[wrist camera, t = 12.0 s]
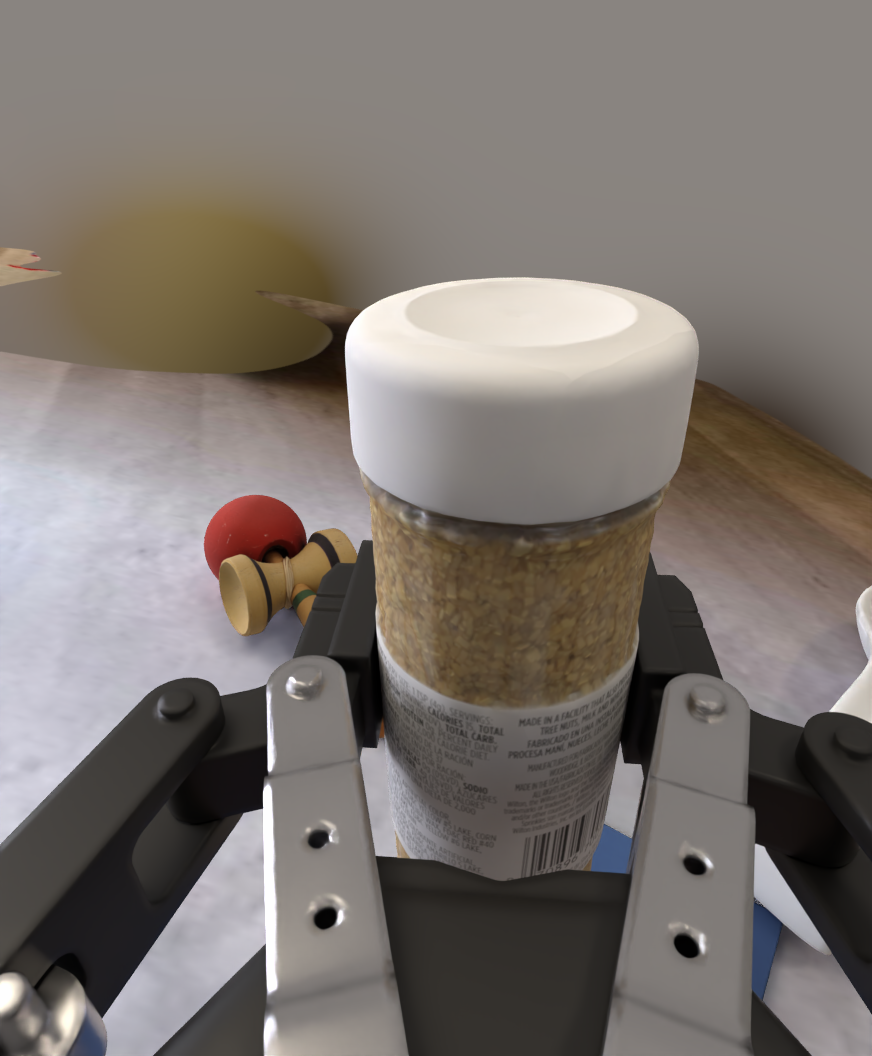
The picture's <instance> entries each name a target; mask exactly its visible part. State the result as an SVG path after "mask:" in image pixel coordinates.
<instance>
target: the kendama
mask: <svg viewBox="0 0 872 1056" xmlns="http://www.w3.org/2000/svg"><path fill="white" fill-rule="evenodd" d="M204 539H205V540H204V551H205V557H206V560H207V563H208V565H209V567H210V569H211V571H212V572H213V574H214V575H215V576H216V578H217V579H218V580H219V585H220V592H221V597H222V600H223V605H224V607H225V610H226V613H227V616H228V618H229V620H230V622H231V624H232V625H233V627H234V628H235V630H236V631H237V632H238V633H240V634H241V635H242V636H249V635H253V634H258V633H261V632H262V631H263V630H264V629H265V627H266V626H267V624H268V622H269V621H270V620H271V618H272V617H273V616H274V615H275V614H276V613H277V612H278V611H279V610H280V609H282V608H284V607H285V608H286V609H289V608H291V607H292V606H293V607H294V609H295V611H296V613H297V615H298V617H299V619H300V621H301V623H302V625H303V627H304V626H305V623H306V621H307V618H308V615H309V612H310V611H311V607H312V604H313V601H314V599H315V597H316V593H317V590H318V588H319V585H320V582H321V579H322V577H323V576H324V575H325V574H326V573H327V572H328V571H329V570H330V569H331V568H332V567H333V566H334V565H335V564H337V563H356V560H357V553H356V551H355V549H354V547H353V545H352V543H351V541H350V540H349V539H348V537H347V536H346V535H345V534H344V533H343V532H342V531H340V530H338V529H335V528H333V529H327V530H322V531H317V532H315V533H313V534H312V535H311V537H310V539H309V541H308V543H307V539H306V533H305V530H304V527H303V524H302V522H301V520H300V519H299V517H298V516H297V514H296V513H295V512H294V511H293V510H292V509H291V508H290V507H289V506H287V505H286V504H285V503H283V502H281V501H279V500H277V499H275V498H272V497H268V496H263V495H249V496H244V497H240V498H237V499H235V500H233V501H231V502H229V503H227V504H225V505H224V506H223V507H222V508H221V509H220V510H219V511H218V512H217V513H216V514H215V515H214V517H213V518H212V519H211V521H210V523H209V525H208V527H207V530H206V534H205V537H204ZM384 737H385V736H384V723H383V719H382V724H381V729H380V735H379V738H384Z"/></svg>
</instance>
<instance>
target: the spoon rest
mask: <svg viewBox="0 0 872 1056" xmlns="http://www.w3.org/2000/svg"><path fill="white" fill-rule="evenodd" d="M856 618H857V626H858V630H859V635H860V639H861V642H862V645H863V648H864V651H865V653H866V656H867V658H868V660H869V662H868V664H867V666H866V668H865V669H864V671H863V672H862V673H861V675H860V676H859V677H858V678H857V679H856V680H855V681H854V683H853V684H852V685H851V686H850V687H849V689H848V690H847V691H846V692H845V693H844V694H843V696H842V697H841V698H840V699H839V700H838V702H837V703H836V704H835V705H834V706H833V708H832V709H831V710H830V711H829V712H840V713H846V714H850V715H854V716H856V717H859V718H862V719H864V720H866V721H868V722H870V723H872V586H871V587H869V588H868V589H866V590H865V591H864V592H863V593H862V594H861V596H860V597H859V599H858V602H857V605H856ZM754 897H755V898H756V899H757V900H758V901H759V902H760V903H761V904H762V905H763V906H765V907H766V908H767V909H768V910H769V911H770V912H771V913H772V914H773V915H774V916H776V917H777V918H778V919H779V920H780V921H781V922H782V923H783V924H784V925H786V926H787V927H788V928H789V929H790V930H791V931H793V932H794V933H795V934H796V935H797V936H798V937H800V938H801V939H802V940H803V941H805V942H806V943H807V944H809V945H810V946H811V947H813V948H814V949H816V950H817V951H819V952H821V953H822V954H825V955H831V954H832V952H831V951H830V949H829V948H828V946H827V945H826V943H825V942H824V940H823V938H822V937H821V935H820V934H819V932H818V931H817V929H816V928H815V926H814V925H813V923H812V922H811V920H810V918H809V917H808V915H807V914H806V912H805V911H804V909H803V908H802V906H801V905H800V903H799V902H798V900H797V898H796V897H795V895H794V894H793V892H792V891H791V889H790V888H789V886H788V885H787V883H786V882H785V880H784V878H783V877H782V875H781V874H780V872H779V871H778V869H777V868H776V866H775V865H774V863H773V862H772V860H771V858H770V857H769V855H768V853H767V852H766V849H765V847H764V846H761V845H758V844H755V864H754Z"/></svg>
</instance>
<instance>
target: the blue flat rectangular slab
mask: <svg viewBox="0 0 872 1056" xmlns="http://www.w3.org/2000/svg"><path fill="white" fill-rule="evenodd" d="M631 842H632V839H631V838H629V837H627V836H625V835H624V834H622V833H620V832H618V831H616V830H614V829H612V828H611V827H609V826H607V825H605V824H604V825H603V830H602V834H601V838H600V841H599V843H598V846H597V848H596V850H595V852H594V854H593V857H592V866H591V871H597V872H612V873H626V869H627V864H628V859H629V853H630V848H631ZM782 925H783V923H782V922H781V921H780V920H779V919H778V918H777V917H776V916H774V915H773V914H772V913H771V912H770V911H769V910H768V909H766V908H764V907H762V906H760V905H759V904H757V903H755V902H754V907H753V950H752V990H753V991H754V992H755V993H756V994H757V996H758V997H759V998H760V999H761V1000H763V997H764V993H765V989H766V985H767V982H768V978H769V974H770V970H771V967H772V963H773V959H774V955H775V951H776V948H777V944H778V940H779V936H780V933H781V929H782Z"/></svg>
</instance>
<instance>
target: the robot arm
mask: <svg viewBox="0 0 872 1056" xmlns="http://www.w3.org/2000/svg"><path fill="white" fill-rule="evenodd" d="M376 605H377V596H376V574H375V565H374V554H373V541H372V540H363V541H362V543H361V547H360V550H359V553H358V556H357V560H356V563H337V564H335V565H334V566H333V567H332V568H331V569H330V570H329V571H328V572H327V573H326V574H325V575H324V576H323V577H322V579H321V582H320V585H319V588H318V590H317V593H316V597H315V599H314V601H313V604H312V607H311V611H310V612H309V615H308V618H307V621H306V623H305V626H304V629H303V632H302V634H301V637H300V640H299V643H298V645H297V648H296V651H295V654H294V656H293V659H291V660H289V661H287V662H285V663H284V664H282V665H281V666H279V667H278V668H277V669H276V670H275V671H274V672H273V673H272V674H271V676H270V678H269V680H268V683H267V684H266V685H264V686H262V687H259V688H256V689H252V690H248V691H243V692H238V693H233V694H228V695H223V696H220V695H219V692H218V690H217V688H216V687H215V686H214V685H213V684H212V683H210V682H208V681H206V680H203V679H199V678H182V679H176V680H173V681H170V682H167V683H165V684H163V685H161V686H159V687H157V688H155V689H154V690H153V691H151V692H150V693H149V694H148V695H147V696H145V697H144V698H143V700H142V701H141V702H140V703H139V704H138V705H137V706H136V707H135V708H134V709H133V710H132V711H131V712H130V713H129V714H128V715H127V716H126V717H125V718H124V719H123V720H122V721H121V722H120V723H119V724H118V725H117V726H116V727H115V728H114V729H113V730H112V731H111V732H110V733H109V734H108V735H107V736H106V737H105V738H104V739H103V740H102V741H101V742H100V743H99V744H98V745H97V746H96V747H95V748H94V749H93V750H92V751H91V753H90V754H89V755H88V756H87V757H86V758H85V759H84V760H83V761H82V762H81V763H80V764H79V765H78V766H77V767H76V768H75V769H74V770H73V771H72V772H71V773H70V774H69V775H68V776H67V777H66V778H65V779H64V780H63V781H62V782H61V783H60V784H59V785H58V786H57V787H56V788H55V789H54V790H53V791H52V792H51V793H50V794H49V795H48V796H47V797H46V798H45V799H44V800H43V801H42V802H41V803H40V804H39V806H38V807H37V808H36V809H35V810H34V811H33V812H32V813H31V814H30V815H29V816H28V817H27V818H26V819H25V820H24V821H23V822H22V823H21V824H20V825H19V826H18V827H17V828H16V829H15V830H14V831H13V832H12V833H11V834H10V835H9V836H8V837H7V838H6V839H5V840H4V841H3V842H2V843H1V844H0V1056H105V1054H106V1048H107V1032H106V1028H105V1024H104V1022H103V1020H102V1018H103V1016H104V1015H105V1013H106V1012H107V1010H108V1009H109V1008H110V1006H111V1005H112V1003H113V1002H114V1000H115V999H116V997H117V996H118V995H119V993H120V992H121V990H122V989H123V987H124V986H125V984H126V983H127V982H128V980H129V979H130V977H131V976H132V974H133V973H134V971H135V970H136V969H137V967H138V966H139V964H140V963H141V961H142V960H143V958H144V957H145V956H146V954H147V953H148V951H149V950H150V948H151V947H152V945H153V944H154V943H155V941H156V940H157V938H158V937H159V935H160V934H161V932H162V931H163V930H164V928H165V927H166V925H167V924H168V922H169V921H170V919H171V918H172V917H173V915H174V914H175V912H176V911H177V909H178V908H179V907H180V905H181V904H182V902H183V901H184V899H185V898H186V896H187V895H188V894H189V892H190V891H191V889H192V888H193V886H194V885H195V883H196V882H197V881H198V879H199V878H200V876H201V875H202V873H203V872H204V870H205V869H206V868H207V866H208V865H209V863H210V862H211V860H212V859H213V857H214V856H215V855H216V853H217V852H218V850H219V849H220V847H221V846H222V844H223V843H224V842H225V840H226V839H227V837H228V836H229V834H230V833H231V831H232V830H233V829H234V827H235V826H236V824H237V823H238V821H239V820H240V818H241V817H242V815H243V813H246V812H250V811H254V810H258V809H263V808H264V839H265V895H266V944H265V945H264V946H263V947H262V948H261V949H260V950H259V951H258V952H257V953H256V954H255V955H254V956H253V957H252V958H251V959H250V960H249V961H248V962H247V963H246V964H245V965H244V966H243V967H242V968H241V969H240V970H239V971H238V972H237V973H236V974H235V975H234V976H233V977H232V978H231V979H230V980H229V981H228V982H227V983H226V984H225V985H224V986H223V987H222V988H221V989H220V990H219V991H218V992H217V993H216V994H215V995H214V996H213V997H212V998H211V999H210V1000H209V1001H208V1002H207V1003H206V1004H205V1005H204V1006H203V1007H202V1008H201V1009H200V1010H199V1011H198V1012H197V1013H196V1014H195V1015H194V1016H193V1017H192V1018H191V1019H190V1020H189V1021H188V1022H187V1023H186V1024H185V1025H184V1026H183V1027H181V1028H180V1029H179V1030H178V1031H177V1032H176V1033H175V1034H174V1035H173V1036H172V1037H171V1038H170V1039H169V1040H168V1041H167V1042H166V1043H165V1044H164V1045H163V1046H162V1047H161V1048H160V1049H159V1050H158V1051H157V1052H156V1053H155V1054H154V1055H153V1056H812V1055H811V1054H810V1053H809V1052H808V1051H807V1050H806V1049H805V1048H804V1047H803V1045H802V1044H801V1043H800V1042H799V1041H798V1040H797V1039H796V1038H795V1037H794V1035H793V1034H792V1033H791V1032H790V1031H789V1030H788V1029H787V1028H786V1027H785V1026H784V1024H783V1023H782V1022H781V1021H780V1020H779V1019H778V1018H777V1017H776V1016H775V1014H774V1013H773V1012H772V1011H771V1010H770V1009H769V1008H768V1007H767V1006H766V1004H765V1003H764V1002H763V1001H762V1000H761V999H760V998H759V997H758V996H757V994H756V993H755V992H754V991H753V990H752V950H753V907H754V864H755V844H758V845H761V846H764V847H765V849H766V852H767V853H768V855H769V857H770V858H771V860H772V862H773V863H774V865H775V866H776V868H777V869H778V871H779V872H780V874H781V875H782V877H783V878H784V880H785V882H786V883H787V885H788V886H789V888H790V889H791V891H792V892H793V894H794V895H795V897H796V898H797V900H798V902H799V903H800V905H801V906H802V908H803V909H804V911H805V912H806V914H807V915H808V917H809V918H810V920H811V922H812V923H813V925H814V926H815V928H816V929H817V931H818V932H819V934H820V935H821V937H822V938H823V940H824V942H825V943H826V945H827V946H828V948H829V949H830V951H831V952H832V954H833V955H834V957H835V958H836V960H837V962H838V963H839V965H840V966H841V968H842V969H843V971H844V972H845V974H846V975H847V977H848V978H849V980H850V982H851V983H852V985H853V986H854V988H855V989H856V991H857V992H858V994H859V995H860V997H861V998H862V1000H863V1001H864V1003H865V1005H866V1006H867V1008H868V1009H869V1011H870V1012H871V1014H872V723H870V722H868V721H866V720H864V719H862V718H859V717H856V716H854V715H850V714H846V713H840V712H825V713H820V714H817V715H815V716H813V717H811V718H810V719H809V720H808V721H807V723H806V725H805V727H804V728H803V727H800V726H796V725H793V724H789V723H786V722H782V721H779V720H776V719H772V718H769V717H766V716H763V715H761V714H759V713H757V712H755V711H753V710H751V709H750V708H749V705H748V703H747V701H746V699H745V698H744V696H743V695H742V694H741V693H740V692H739V691H738V690H737V689H736V688H735V687H733V686H732V685H730V684H729V683H727V682H725V681H723V678H722V675H721V672H720V670H719V667H718V664H717V661H716V659H715V656H714V653H713V650H712V648H711V645H710V642H709V639H708V637H707V634H706V631H705V628H703V623H702V620H701V617H700V614H699V613H698V609H697V606H696V603H695V601H694V598H693V595H692V592H691V591H690V590H689V589H688V588H687V587H686V586H685V585H684V584H683V583H682V582H681V581H680V580H679V579H678V578H677V577H676V576H673V575H657V572H656V569H655V566H654V562H653V559H652V556H651V553H650V552H649V562H648V566H647V570H646V574H645V579H644V585H643V595H642V601H641V605H640V610H639V617H638V627H639V642H638V648H637V654H636V660H635V665H634V670H633V676H632V681H631V687H630V692H629V697H628V703H627V708H626V713H625V718H624V723H623V728H622V733H621V738H620V742H621V747H622V753H623V759H624V763H630V764H641V765H642V770H643V775H644V780H643V785H642V789H641V793H640V799H639V804H638V810H637V815H636V821H635V826H634V831H633V837H632V842H631V848H630V853H629V859H628V864H627V869H626V873H612V872H597V871H583V870H569V869H567V870H561V871H556V872H550V873H545V874H540V875H534V876H529V877H524V878H518V879H513V880H508V881H498V880H493V879H490V878H487V877H484V876H481V875H478V874H475V873H472V872H469V871H466V870H463V869H460V868H457V867H454V866H451V865H448V864H445V863H442V862H439V861H436V860H425V859H411V858H397V857H382V856H375V849H374V843H373V837H372V831H371V824H370V818H369V812H368V806H367V800H366V793H365V787H364V781H363V775H362V769H361V763H360V756H361V751H362V747H367V748H377V745H378V740H379V735H380V729H381V724H382V719H383V709H382V696H381V683H380V670H379V657H378V644H377V630H376Z"/></svg>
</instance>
